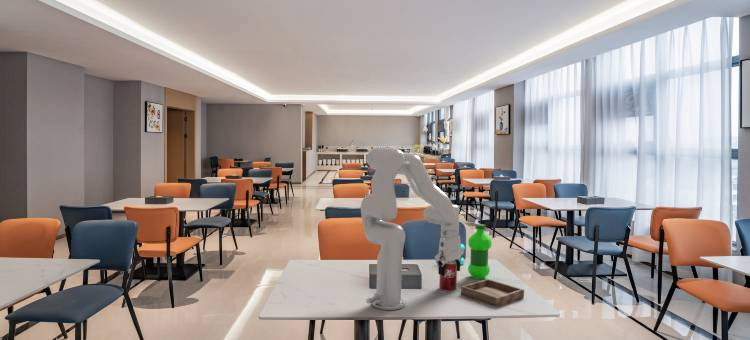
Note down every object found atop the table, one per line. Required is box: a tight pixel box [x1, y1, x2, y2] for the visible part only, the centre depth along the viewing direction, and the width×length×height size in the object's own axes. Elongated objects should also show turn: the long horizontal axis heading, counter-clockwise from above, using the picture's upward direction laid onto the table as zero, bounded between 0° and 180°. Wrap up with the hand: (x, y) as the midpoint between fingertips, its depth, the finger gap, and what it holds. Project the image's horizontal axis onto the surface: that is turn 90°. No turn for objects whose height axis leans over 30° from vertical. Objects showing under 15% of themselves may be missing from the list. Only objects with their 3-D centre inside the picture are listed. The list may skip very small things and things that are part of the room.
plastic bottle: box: [467, 223, 492, 280], centre depth 214 cm, size 10×10×25 cm
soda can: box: [438, 261, 458, 293], centre depth 196 cm, size 7×7×12 cm
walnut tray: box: [460, 278, 525, 308], centre depth 188 cm, size 18×18×4 cm
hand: (449, 272), depth 196 cm, fingers open, 9 cm apart
